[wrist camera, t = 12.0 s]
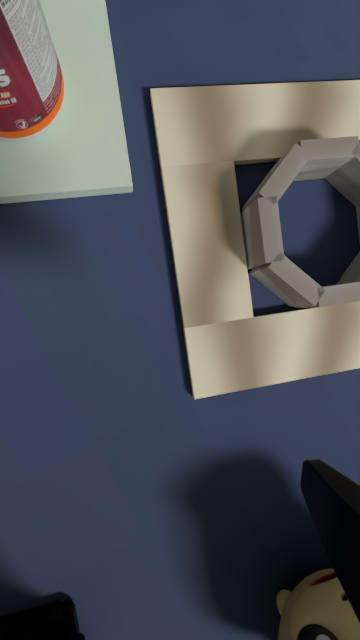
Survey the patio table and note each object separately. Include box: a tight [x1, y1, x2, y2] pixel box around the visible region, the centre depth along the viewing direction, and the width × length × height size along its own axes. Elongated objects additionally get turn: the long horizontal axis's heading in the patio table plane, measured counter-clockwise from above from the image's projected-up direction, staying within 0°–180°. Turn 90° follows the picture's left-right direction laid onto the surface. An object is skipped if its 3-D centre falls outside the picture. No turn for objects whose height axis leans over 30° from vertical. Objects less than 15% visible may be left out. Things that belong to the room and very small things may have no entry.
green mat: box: [0, 0, 133, 204], centre depth 17 cm, size 12×12×1 cm
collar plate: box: [150, 80, 360, 399], centre depth 19 cm, size 20×20×3 cm
